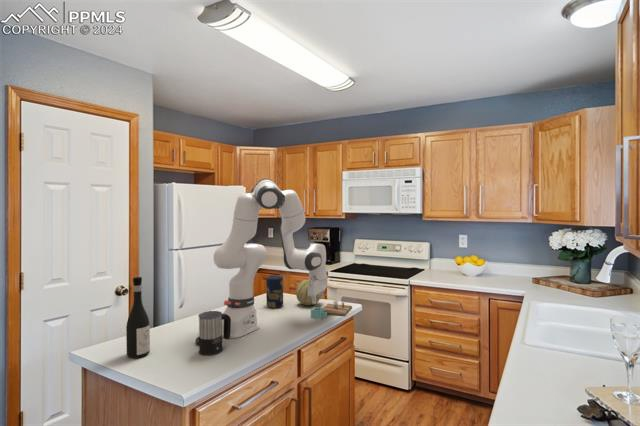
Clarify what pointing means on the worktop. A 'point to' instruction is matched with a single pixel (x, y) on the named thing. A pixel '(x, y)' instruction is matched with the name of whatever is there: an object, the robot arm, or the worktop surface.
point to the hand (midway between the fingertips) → (317, 301)
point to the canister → (274, 291)
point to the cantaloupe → (304, 293)
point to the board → (337, 309)
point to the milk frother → (212, 332)
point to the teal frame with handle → (318, 313)
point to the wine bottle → (138, 326)
